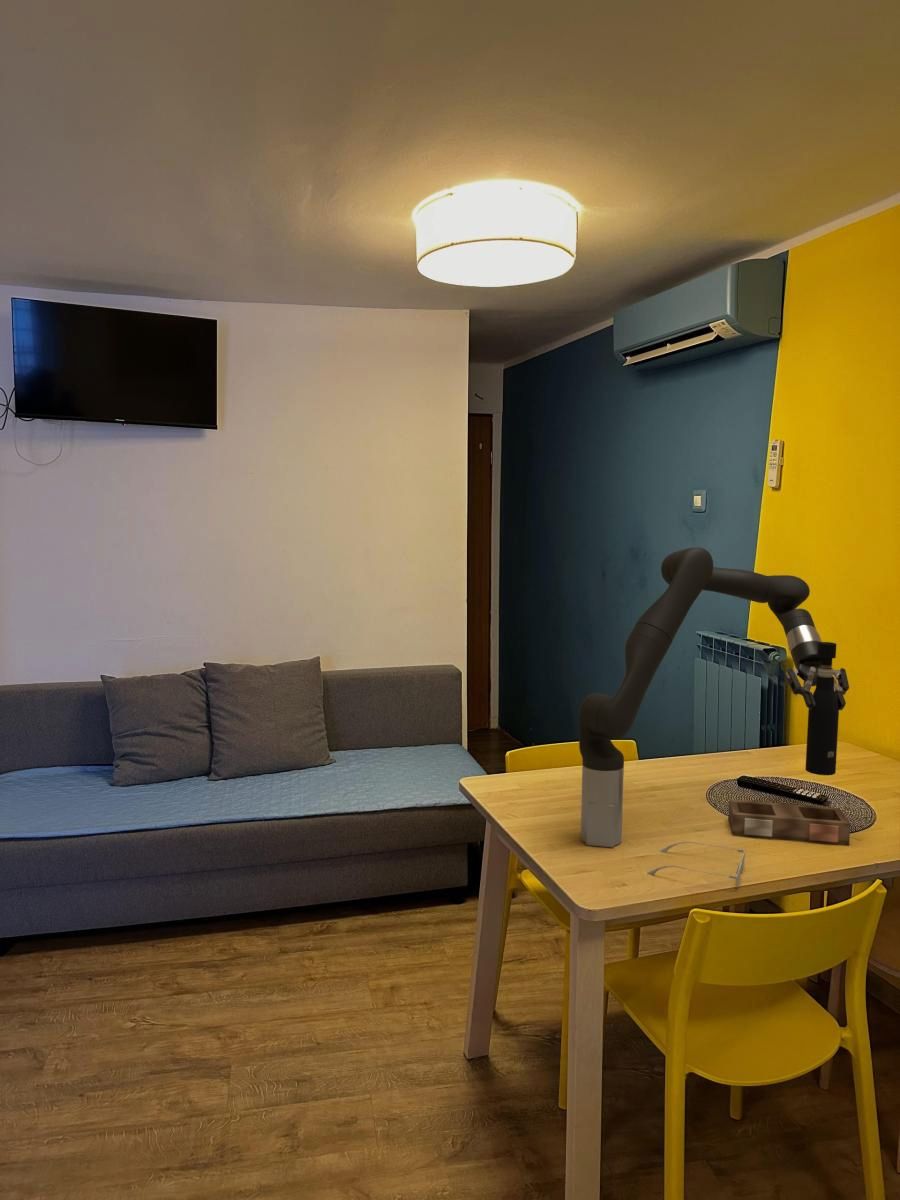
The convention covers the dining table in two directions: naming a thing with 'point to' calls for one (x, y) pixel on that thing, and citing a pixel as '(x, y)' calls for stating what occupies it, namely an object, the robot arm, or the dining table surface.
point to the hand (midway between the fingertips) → (827, 708)
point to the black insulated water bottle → (823, 717)
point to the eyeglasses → (737, 877)
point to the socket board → (788, 822)
